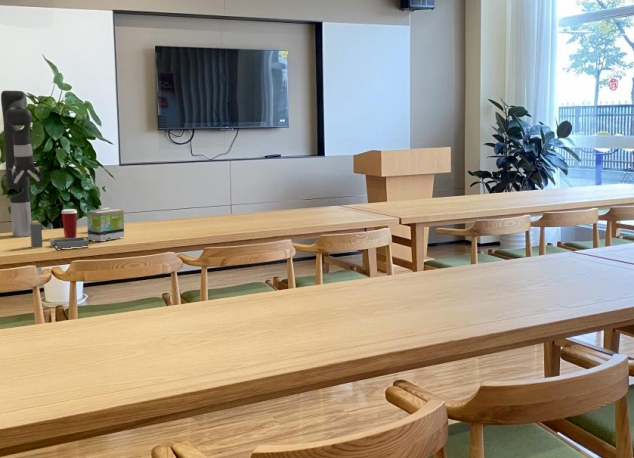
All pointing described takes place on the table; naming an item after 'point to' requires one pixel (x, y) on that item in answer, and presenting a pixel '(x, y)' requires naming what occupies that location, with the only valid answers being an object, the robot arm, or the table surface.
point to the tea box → (105, 224)
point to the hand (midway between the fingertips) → (28, 190)
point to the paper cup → (69, 222)
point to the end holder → (71, 242)
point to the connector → (36, 234)
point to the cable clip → (52, 242)
